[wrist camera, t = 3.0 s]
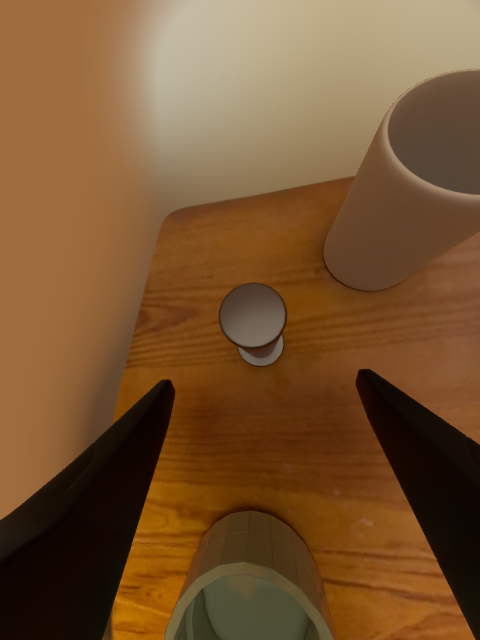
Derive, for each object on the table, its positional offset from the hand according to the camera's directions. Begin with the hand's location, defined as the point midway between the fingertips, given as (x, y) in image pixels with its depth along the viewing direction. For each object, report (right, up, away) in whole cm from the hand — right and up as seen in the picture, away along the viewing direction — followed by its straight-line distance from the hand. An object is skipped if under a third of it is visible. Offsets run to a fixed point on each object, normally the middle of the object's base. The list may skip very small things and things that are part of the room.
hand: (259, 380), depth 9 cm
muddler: (+1, 0, +10) cm, 10 cm away
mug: (+13, +11, +11) cm, 20 cm away
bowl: (0, -18, +6) cm, 19 cm away
